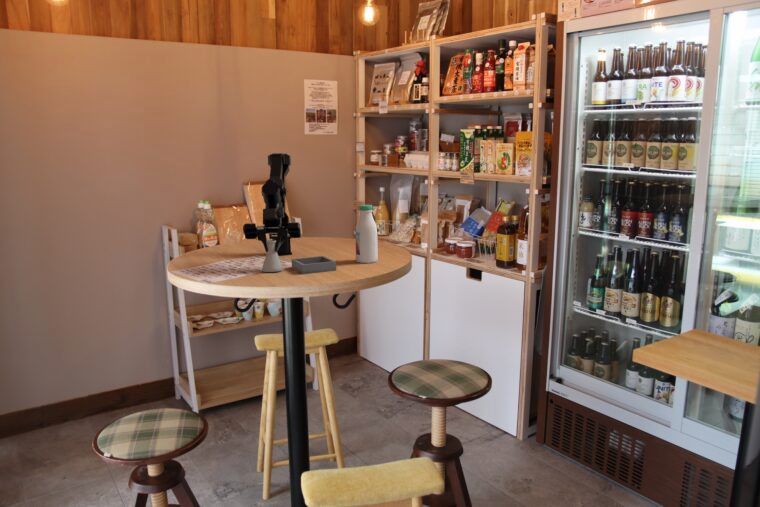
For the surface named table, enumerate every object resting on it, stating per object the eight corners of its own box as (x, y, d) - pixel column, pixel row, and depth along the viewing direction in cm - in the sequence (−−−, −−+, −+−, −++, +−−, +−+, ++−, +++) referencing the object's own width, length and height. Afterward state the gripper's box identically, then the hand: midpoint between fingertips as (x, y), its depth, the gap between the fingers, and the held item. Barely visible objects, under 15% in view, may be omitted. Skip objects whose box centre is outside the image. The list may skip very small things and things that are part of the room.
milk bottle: (380, 259, 219) (379, 204, 215) (373, 264, 212) (372, 206, 208) (360, 258, 221) (359, 203, 218) (352, 262, 214) (351, 206, 210)
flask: (262, 268, 206) (261, 239, 204) (284, 267, 207) (283, 238, 205) (260, 273, 199) (258, 242, 197) (282, 272, 200) (281, 242, 198)
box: (323, 264, 212) (323, 255, 212) (336, 270, 202) (336, 261, 202) (291, 267, 207) (291, 259, 207) (302, 274, 197) (302, 264, 197)
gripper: (242, 199, 202) (238, 237, 193) (298, 198, 203) (297, 236, 194) (247, 219, 211) (243, 257, 202) (301, 218, 212) (300, 255, 203)
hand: (271, 251), depth 200 cm, fingers closed on flask, 3 cm apart
